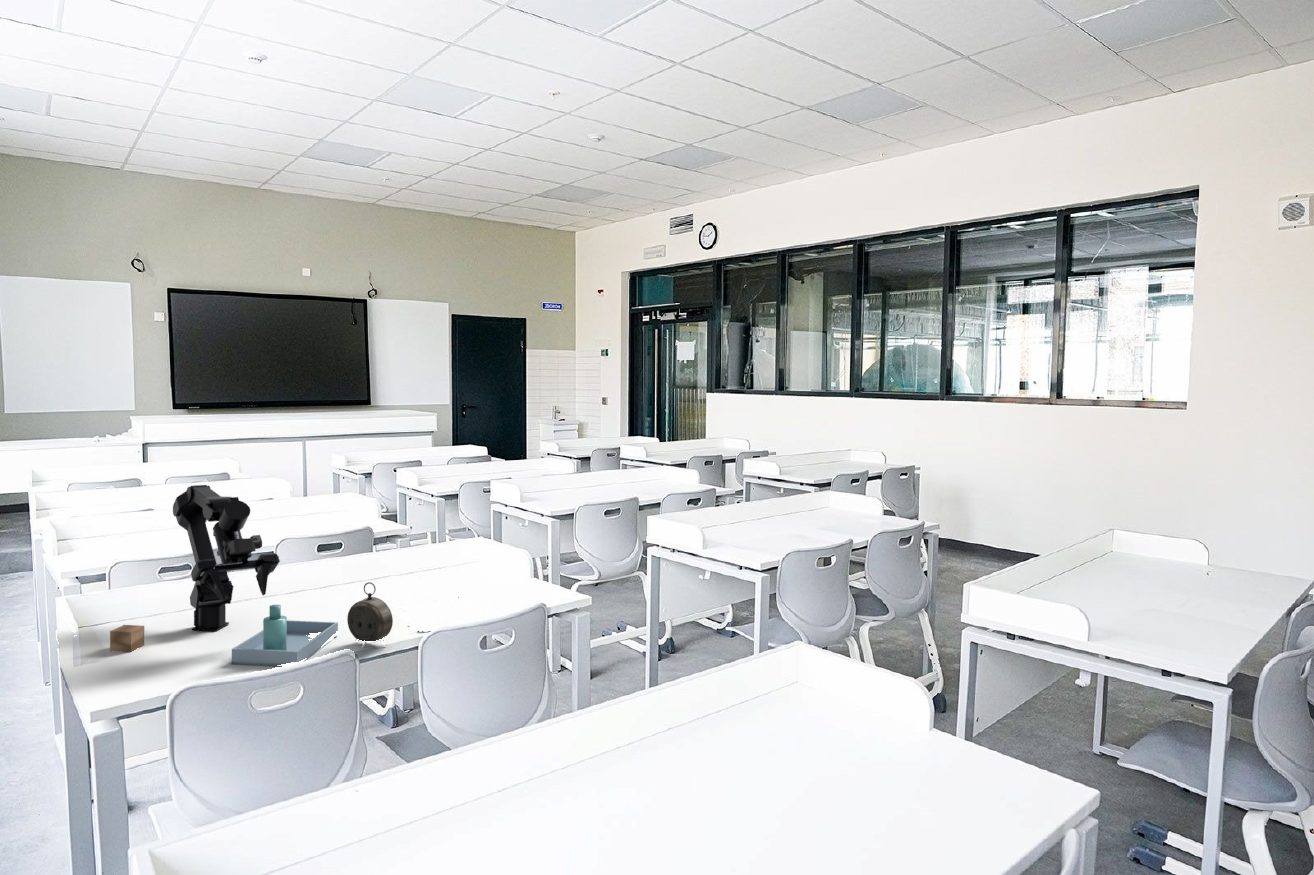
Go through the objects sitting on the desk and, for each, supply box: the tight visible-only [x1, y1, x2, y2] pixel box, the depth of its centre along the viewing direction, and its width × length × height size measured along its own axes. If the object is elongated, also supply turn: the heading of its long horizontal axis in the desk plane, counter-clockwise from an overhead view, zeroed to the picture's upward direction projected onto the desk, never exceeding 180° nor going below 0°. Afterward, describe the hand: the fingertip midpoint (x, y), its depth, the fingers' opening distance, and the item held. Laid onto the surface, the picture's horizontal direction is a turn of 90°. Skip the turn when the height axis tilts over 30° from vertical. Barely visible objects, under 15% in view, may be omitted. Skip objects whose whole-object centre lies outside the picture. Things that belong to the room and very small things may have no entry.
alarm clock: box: [347, 581, 394, 642], centre depth 204 cm, size 11×5×16 cm, turn 71°
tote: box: [231, 619, 339, 667], centre depth 200 cm, size 15×23×4 cm, turn 179°
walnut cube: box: [109, 624, 145, 653], centre depth 197 cm, size 5×5×5 cm
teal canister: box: [262, 604, 288, 651], centre depth 193 cm, size 5×5×12 cm
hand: (244, 597), depth 196 cm, fingers open, 9 cm apart
